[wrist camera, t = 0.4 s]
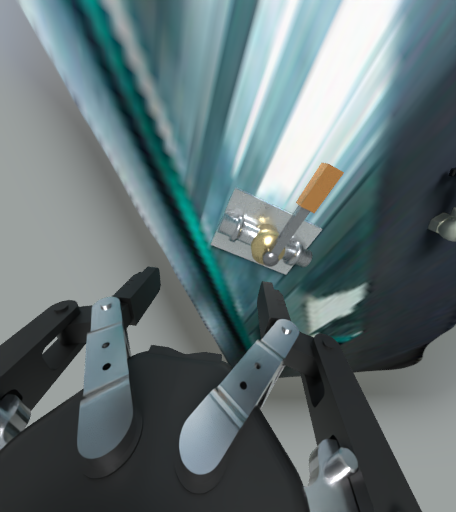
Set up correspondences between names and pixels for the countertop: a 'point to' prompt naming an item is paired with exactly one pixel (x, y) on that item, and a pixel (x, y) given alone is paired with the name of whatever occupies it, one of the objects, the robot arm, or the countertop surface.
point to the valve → (445, 221)
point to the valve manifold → (262, 232)
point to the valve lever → (304, 208)
